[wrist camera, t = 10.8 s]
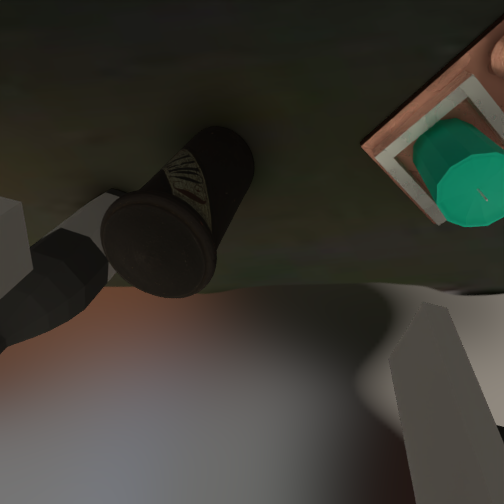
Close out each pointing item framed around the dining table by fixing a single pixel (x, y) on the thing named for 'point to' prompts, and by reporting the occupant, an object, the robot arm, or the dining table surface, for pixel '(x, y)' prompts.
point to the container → (179, 216)
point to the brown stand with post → (444, 113)
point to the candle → (462, 172)
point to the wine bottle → (59, 275)
